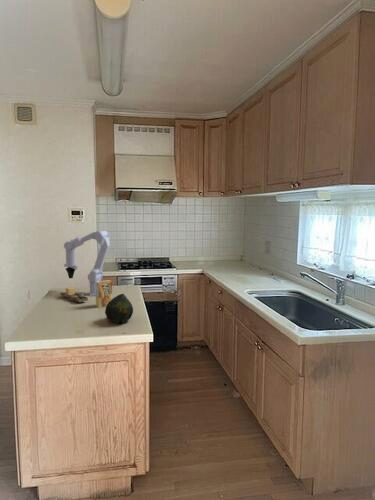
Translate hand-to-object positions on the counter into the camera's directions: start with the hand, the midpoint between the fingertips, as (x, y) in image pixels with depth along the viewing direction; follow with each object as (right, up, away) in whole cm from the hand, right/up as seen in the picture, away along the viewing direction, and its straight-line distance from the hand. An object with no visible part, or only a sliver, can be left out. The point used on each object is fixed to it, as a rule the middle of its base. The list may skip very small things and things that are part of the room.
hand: (70, 278), depth 256 cm
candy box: (+30, -15, -31) cm, 46 cm away
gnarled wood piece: (+8, -12, -18) cm, 23 cm away
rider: (+4, -9, -15) cm, 19 cm away
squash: (+44, -19, -58) cm, 75 cm away
